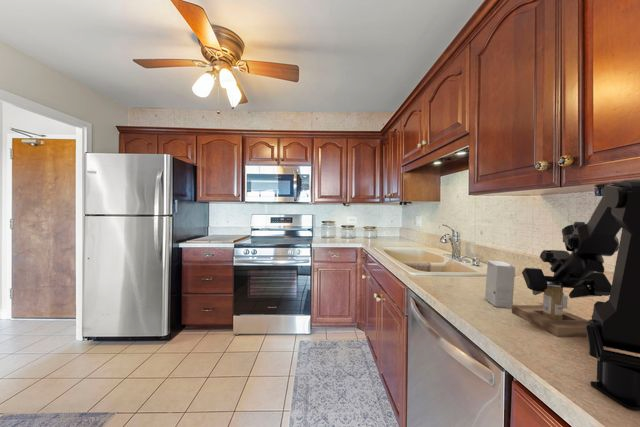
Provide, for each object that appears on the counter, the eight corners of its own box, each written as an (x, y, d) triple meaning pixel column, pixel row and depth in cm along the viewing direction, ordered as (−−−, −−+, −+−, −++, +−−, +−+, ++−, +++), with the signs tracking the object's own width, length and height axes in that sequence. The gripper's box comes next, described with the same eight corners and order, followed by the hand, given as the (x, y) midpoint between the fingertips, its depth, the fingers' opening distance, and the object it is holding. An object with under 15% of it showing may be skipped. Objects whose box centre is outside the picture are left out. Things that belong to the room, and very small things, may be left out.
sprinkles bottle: (565, 328, 74) (566, 281, 73) (544, 324, 76) (545, 279, 76) (560, 322, 78) (561, 278, 77) (540, 319, 80) (541, 275, 80)
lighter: (565, 307, 90) (565, 284, 90) (567, 308, 89) (568, 285, 89) (539, 303, 93) (540, 281, 93) (541, 305, 92) (541, 283, 92)
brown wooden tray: (605, 336, 69) (605, 327, 69) (557, 336, 69) (557, 327, 69) (550, 312, 85) (550, 305, 85) (511, 312, 85) (511, 305, 85)
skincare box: (484, 299, 97) (485, 259, 97) (502, 300, 96) (503, 260, 96) (494, 307, 89) (496, 264, 89) (514, 308, 88) (515, 265, 88)
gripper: (606, 243, 70) (576, 274, 81) (525, 240, 75) (508, 269, 86) (631, 280, 63) (595, 308, 74) (540, 274, 68) (518, 301, 78)
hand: (551, 295), depth 78 cm, fingers open, 9 cm apart
